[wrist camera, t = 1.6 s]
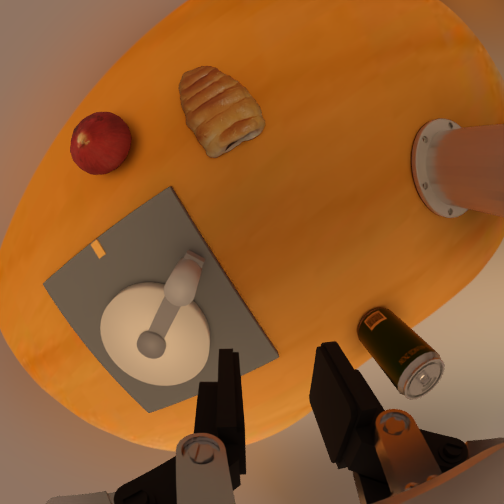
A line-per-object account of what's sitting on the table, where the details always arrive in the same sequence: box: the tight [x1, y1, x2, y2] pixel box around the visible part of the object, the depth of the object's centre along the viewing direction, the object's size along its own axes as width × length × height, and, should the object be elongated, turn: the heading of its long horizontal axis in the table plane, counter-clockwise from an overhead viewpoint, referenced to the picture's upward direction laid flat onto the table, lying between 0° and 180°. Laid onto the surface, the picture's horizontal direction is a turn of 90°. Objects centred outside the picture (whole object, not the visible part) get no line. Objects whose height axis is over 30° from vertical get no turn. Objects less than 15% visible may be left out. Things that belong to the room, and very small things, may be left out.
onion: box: [70, 112, 131, 175], centre depth 21 cm, size 6×6×8 cm
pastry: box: [179, 66, 265, 158], centre depth 23 cm, size 9×7×4 cm
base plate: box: [43, 186, 279, 413], centre depth 29 cm, size 20×22×1 cm
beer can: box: [358, 308, 444, 400], centre depth 27 cm, size 5×5×12 cm
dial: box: [100, 250, 210, 386], centre depth 25 cm, size 16×12×7 cm
